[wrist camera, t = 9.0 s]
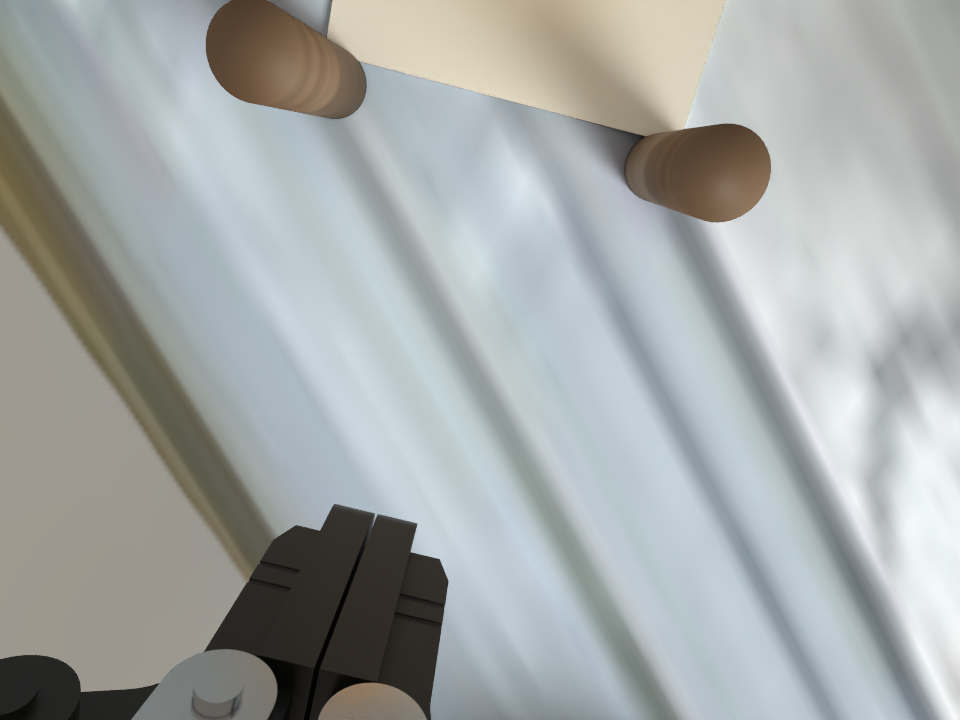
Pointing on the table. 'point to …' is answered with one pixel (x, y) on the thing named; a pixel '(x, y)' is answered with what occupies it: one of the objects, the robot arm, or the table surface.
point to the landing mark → (545, 52)
